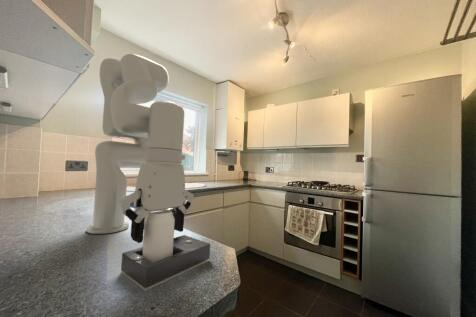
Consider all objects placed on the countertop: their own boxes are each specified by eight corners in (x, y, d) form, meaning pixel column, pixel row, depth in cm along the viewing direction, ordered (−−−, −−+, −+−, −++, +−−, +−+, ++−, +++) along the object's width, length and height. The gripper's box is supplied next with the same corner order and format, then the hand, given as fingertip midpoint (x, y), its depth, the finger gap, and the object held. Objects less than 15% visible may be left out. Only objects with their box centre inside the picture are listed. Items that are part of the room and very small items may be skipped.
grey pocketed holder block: (120, 272, 41) (122, 251, 41) (183, 249, 54) (184, 234, 54) (145, 291, 35) (146, 267, 35) (209, 260, 48) (210, 243, 48)
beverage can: (135, 272, 40) (139, 213, 41) (151, 259, 46) (155, 208, 47) (163, 275, 39) (167, 215, 40) (176, 261, 45) (179, 209, 46)
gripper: (185, 160, 53) (181, 224, 52) (115, 154, 39) (108, 241, 39) (204, 160, 49) (200, 230, 48) (132, 154, 35) (125, 252, 34)
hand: (159, 235), depth 43 cm, fingers open, 9 cm apart
